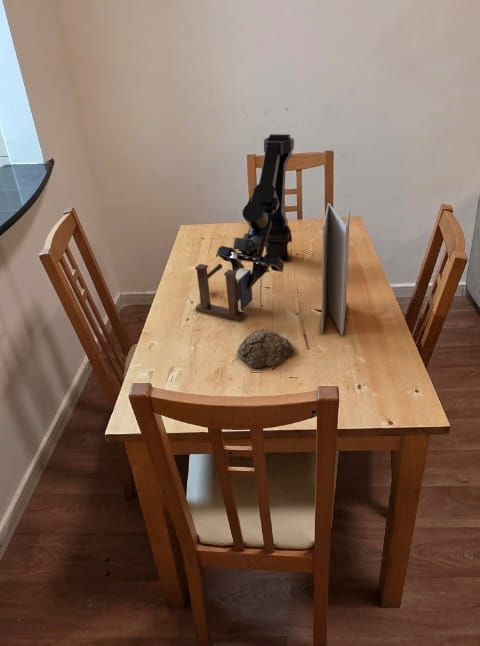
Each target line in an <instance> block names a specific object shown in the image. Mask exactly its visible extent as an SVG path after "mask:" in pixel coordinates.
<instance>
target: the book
mask: <svg viewBox="0 0 480 646" xmlns="http://www.w3.org/2000/svg"><path fill="white" fill-rule="evenodd" d="M247 269H248V268H243V269H242V268H238V269H237V270H236V271H237V273H236V282H237V283H238V284H237V297H238V302H239V301H240V311H244V310H245V309H246V308H247V306H248V305H250V303H251V302H252V301H253V286H252V287H251V288H250V289H249V290H248V289H247V285H248V281H249V278H250V276H251V273H252V270H251V269H248V270H247Z"/></svg>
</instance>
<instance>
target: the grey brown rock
mask: <svg viewBox="0 0 480 646" xmlns="http://www.w3.org/2000/svg"><path fill="white" fill-rule="evenodd" d="M292 353H293V347H292V344H291V342H289V340H288V339H287V338H286V337H284V336H282V335H280V334H278V333H277V332H275V331H271V330H268V329H262V328H261V329H259V330H253V331H252V332H251V333H249V334H248V336H246V337H245V339H244V340H243V341H242V343H241V344H240V345H239V347H238V350H237V357H238V359H240V360H242V361H244V362H246V363H247V365H248V366H249V367H250V368H253V369H263V368H265V367H273V366H276V365H279V364H280V363H281V362H283V360H284V359H285V358H288V357H290V356H291V355H292Z"/></svg>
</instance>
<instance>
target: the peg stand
mask: <svg viewBox="0 0 480 646" xmlns="http://www.w3.org/2000/svg"><path fill="white" fill-rule="evenodd" d="M208 268H209V265H208V264H203V263H199V264H197V266H195V267H194V269H195V270H196V275H197V276H196V277H197V284H198V291H199V293H198V294H199V301H200V303H199V304H197V305H196V306H195V311H196V312H199V313H204V314H208V315H212V316H217V317H220V318H225V319H229V320H233V321H237V322H240V321H242V319H243V318H244V317H245V315H246V314H245V311H242V310H239V301H238V297H237V284H238V283H237V282H236V273H237V271H234V270H233V269H227V270H226V271H225V272H224V274H223V276H224V277H225V285H226V296H227V307H223V306H221V305H220V306H219V305H215V304H211V294H210V286H209V280H210V278H212V276H214V275H215V274H216V273H217V272H218V271H220V270H221V269H223V265H222V263H218V264H216V266H215V267H214V268H213V269H211V270H210V271H209V272H208ZM246 269H247V270H249V269H248V268H246Z"/></svg>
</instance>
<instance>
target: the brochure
mask: <svg viewBox="0 0 480 646" xmlns="http://www.w3.org/2000/svg"><path fill="white" fill-rule="evenodd" d="M350 216H351V203H348V209H347V216H346V223H345V221H344V220H343V219H342V217H341V216H340V215H339V214H338V213H337V211H336V210H335V208H334V207H333V206H332V205H331V204H330V202H328V203H327V207H326V210H325V215H324V219H323V224H322V259H321V261H322V263H321V265H322V267H321V325H320V326H321V327H320V329H321V332H320V333H321V334H323V331H324V327H325V326H324V325H325V320H326V314H327V310H328V312H329V314H330V315H331V317H332V320H333V321H334V323H335V325H336V327H337V329H338V331H339V332H340V334H341V336H343V335H344V328H345V321H346V311H347V310H346V309H347V291H348V289H347V288H348V270H349V269H348V268H349V266H348V265H349V243H350V221H351V220H350V219H351V218H350Z"/></svg>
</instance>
